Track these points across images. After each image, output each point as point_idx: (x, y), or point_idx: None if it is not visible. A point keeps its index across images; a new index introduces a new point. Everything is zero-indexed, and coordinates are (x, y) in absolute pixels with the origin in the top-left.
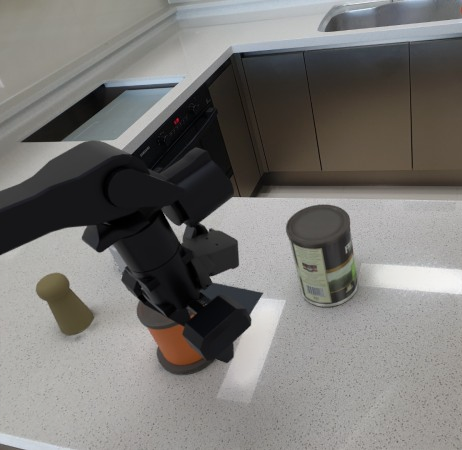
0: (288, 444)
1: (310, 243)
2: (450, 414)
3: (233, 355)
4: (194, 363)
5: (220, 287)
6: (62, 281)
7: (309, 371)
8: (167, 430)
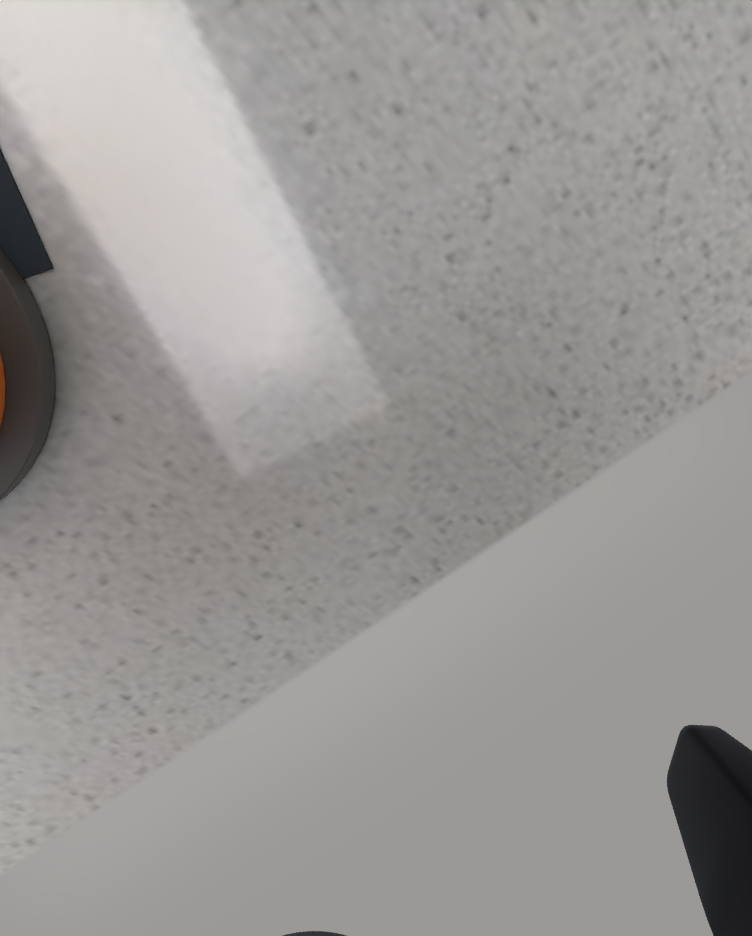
0: (652, 437)
1: None
2: None
3: (741, 746)
4: (3, 442)
5: None
6: None
7: (526, 93)
8: (197, 681)
